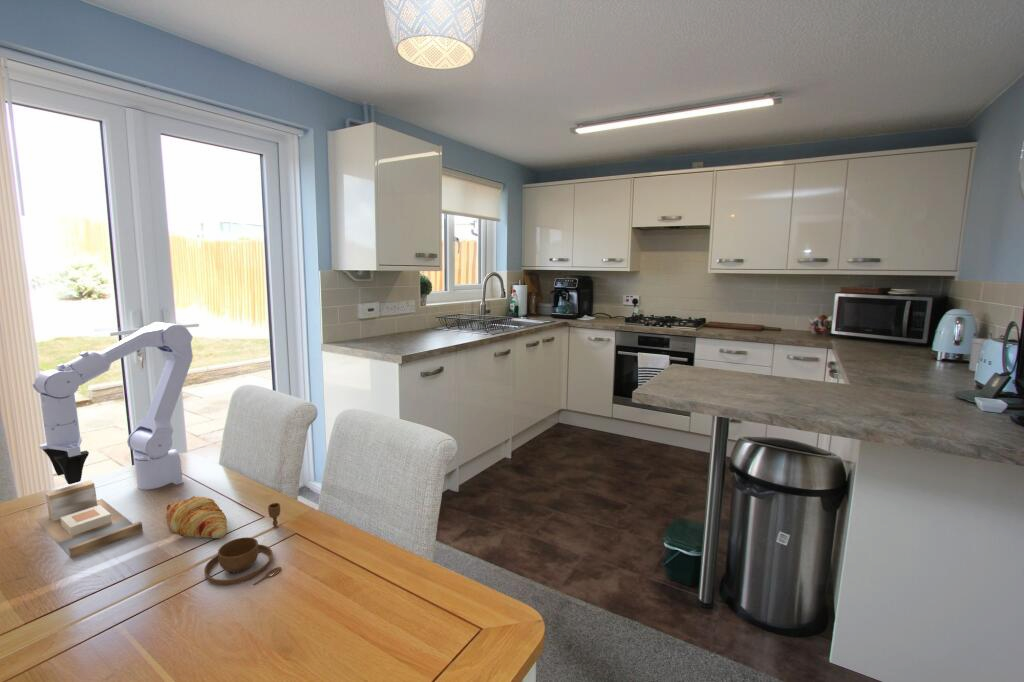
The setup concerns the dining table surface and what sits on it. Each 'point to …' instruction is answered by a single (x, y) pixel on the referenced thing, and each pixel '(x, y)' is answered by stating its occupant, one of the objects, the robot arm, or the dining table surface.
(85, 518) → the tile
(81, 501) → the light wood block
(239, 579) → the place setting
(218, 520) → the croissant
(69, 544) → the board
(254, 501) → the dining table surface
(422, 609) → the dining table surface
